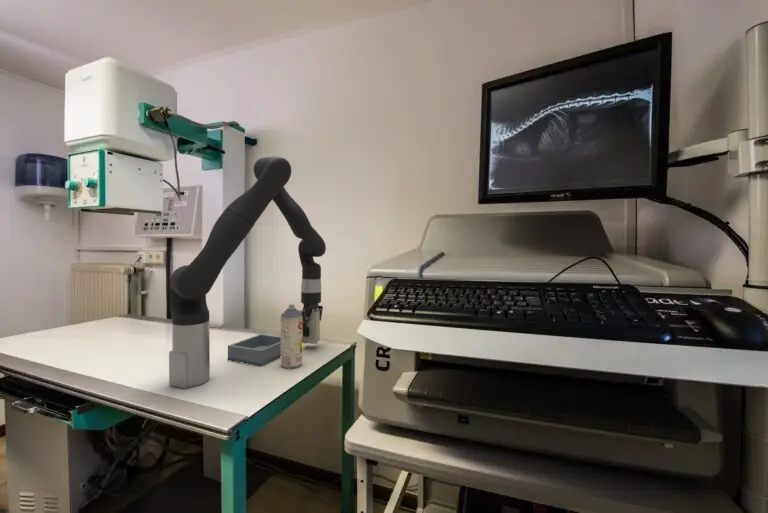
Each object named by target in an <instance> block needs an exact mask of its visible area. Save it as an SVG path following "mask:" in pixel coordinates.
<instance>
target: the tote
mask: <svg viewBox="0 0 768 513" xmlns="http://www.w3.org/2000/svg"><path fill="white" fill-rule="evenodd" d="M280 356H281V336H280V335H279V336H278V335H271V334H265V333H264V334H262V333H260V334H257V335H254V336H251V337H249V338H246V339H245V338H244V339H243V340H239V341H237V342H234V343H231V344H229V345H227V361H229V360H231V361H230V362H235V361H237V362H236V363H240V362H243V363H242V364H246V363H248V364H247V365H251V364H253V365H252V366H257V365H258V367H262V366H264V365H267V364H269V363H271V362H273V361H275V360H277V359H279V358H281V357H280ZM276 358H277V359H276Z"/></svg>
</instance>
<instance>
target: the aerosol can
mask: <svg viewBox="0 0 768 513" xmlns="http://www.w3.org/2000/svg"><path fill="white" fill-rule="evenodd" d="M299 311H300V310H299V309H297V308H296V307H295V304H293V303H290V304H289V305H288V308H286V310H284V312H283V313H281V314H280V315H281V316H280V337H281V357H280V368H281V369H284V370H285V369H286V370H293V369H298V368H301V366H303V343H302V313H300V312H299Z"/></svg>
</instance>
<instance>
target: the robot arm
mask: <svg viewBox="0 0 768 513" xmlns="http://www.w3.org/2000/svg"><path fill="white" fill-rule="evenodd" d="M253 175H254V177H255V179H256V181H255V183H254V184H253V185H252V186H251V187H250V188H249V189H248V190H246V191H245V192H243V193H242V194H241V195H239V196H238V197H236V198H235V199H234V200H233V201H232V202H231V203H230V204H228V205H227V207H226V208H225V209H224V210H223V212H222V213H221V214H220V216H218V218H217V220H216V221H215V223H214V224H213V227H212V228H211V230H210V233H209V236H208V238H207V240H206V243H205V244H204V245H203V248H202V249H201V251H200V252H199V253H198V254H197V255H196V257H195V258H194V259H193V260H192V261H191V262H190V263H189V265H187V264H186V265H183V266H180V267H177V268H176V269H175V270H174V271H173V272H172V274H171V276H170V278H169V303H170V304H169V307H170V308H169V310H170V315H171V323H172V328H171V329H172V331H171V332H172V346H171V347H172V350H170V351H169V353H168V374H169V376H168V382H169V383H168V384H169V386H172V387H175V388H181V389H183V390H184V389H188V388H192V387H196V386H200V385H203V384H205V383H207V382H209V380H210V374H211V373H210V372H211V370H210V369H211V366H210V364H211V362H210V359H211V358H210V357H211V356H210V352H211V351H210V350H211V349H210V348H211V347H210V344H211V343H210V342H211V340H210V338H211V337H210V327H211V326H210V310H209V308H208V304H207V295H208V293H209V292H210V291H211V289H212V288H213V286H214V285H215V283H216V282H217V279H218V277H219V275H220V273H221V272H222V270H223V268H224V267H225V265H226V263H227V262H228V261H229V259H230V257H232V255H233V254H234V253H235V252H236V250H237V249H238V248H239V247H240V245H241V243H242V242H243V241H244V239H246V237H247V236H248V234H249V233H250V232H251V231H252V229H253V227H254V226H255V225H256V222H257V221H258V220H259V218H260V217H261V216H262V214H263V213H264V212H265V211H266V208H267V207H268V206H269V204H270V203H271V202H272V201H273V202H274V204H275V205H276V207H277V208H278V210H279V211H280V212H281V214H282V216H283V217H284V218H285V220H286V222H287V224H288V226H289V228H290V230H291V232H292V233H293V235H294V236H295V238H298V239H299V240H300V239H301V240H300V242H299V244H298V246H297V247H298V248H297V249H298V250H297V252H298V256H299V260H300V264H301V268H302V270H301V273H302V274H301V276H302V277H301V285H300V286H301V287H300V303H301V304H303V306H302V309H301V310H298V311H299V312H300V313H302V321H303V323H302V326H303V336H304V337H309V325H310V321H312V313H313V312H314V311H318V310H320V322H322V317H323V316H322V315H323V309H324V306H323V305H319V304H321V303H322V267H321V264H320V263H317V262H315V260H314V257H315V258H320V257H322V256H324V254H325V253H326V250H327V246H326V242H325V240H324V239H323V237H322V236H321V235H320V234H319V233H318V231H317V230H316V229H315V228H314V227H313V226H312V224H311V222H310V220H309V219H308V216H307V214H306V213H305V211H304V210H303V208H302V207H301V206H300V205H299V204H298V202H297V201H295V200H294V199H293V197H292V196H291V195H290V194H289V192H288V190H286V187H285V186H286V185H287V184H288V182H289V181H290V179H291V176H292V166H291V164H290V162H289V161H288V160H287V159H286V158H284V157H281V156H266V157H261V158H258V159H257V160H256V161H255V162H254V165H253ZM306 317H309V318H306ZM306 320H307V322H306Z"/></svg>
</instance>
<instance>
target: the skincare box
mask: <svg viewBox="0 0 768 513" xmlns="http://www.w3.org/2000/svg"><path fill="white" fill-rule="evenodd" d="M306 318H309V317H306ZM306 322H307V320H306ZM320 322H321V321H320V310H318V311H314V312H313V313H312V321H310V325H309V337H304V336H303V326H302V344H309V345H310V344H311V345H313V344H314V345H315V344H316V345H317V344H318V343H319V342H320V339H321V332H320V328H321V326H320V324H321V323H320ZM302 323H303V321H302Z"/></svg>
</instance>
